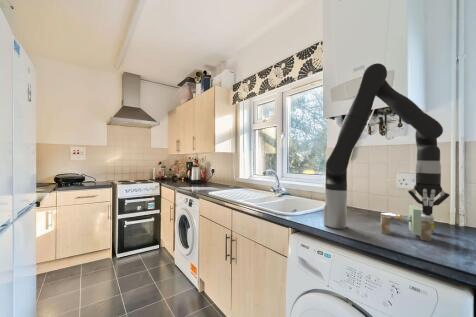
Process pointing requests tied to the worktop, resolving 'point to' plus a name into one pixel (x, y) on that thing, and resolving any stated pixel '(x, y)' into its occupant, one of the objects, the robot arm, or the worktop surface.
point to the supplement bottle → (430, 220)
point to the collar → (415, 220)
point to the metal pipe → (402, 217)
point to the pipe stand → (424, 235)
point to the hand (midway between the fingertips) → (427, 215)
